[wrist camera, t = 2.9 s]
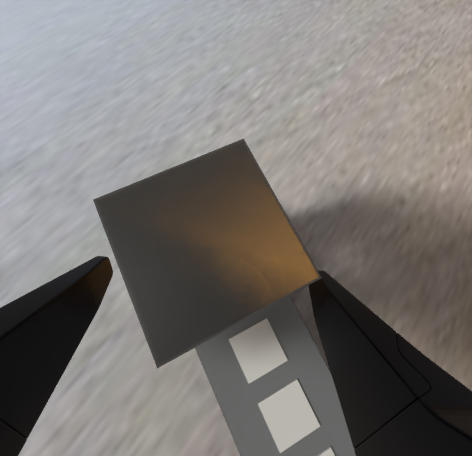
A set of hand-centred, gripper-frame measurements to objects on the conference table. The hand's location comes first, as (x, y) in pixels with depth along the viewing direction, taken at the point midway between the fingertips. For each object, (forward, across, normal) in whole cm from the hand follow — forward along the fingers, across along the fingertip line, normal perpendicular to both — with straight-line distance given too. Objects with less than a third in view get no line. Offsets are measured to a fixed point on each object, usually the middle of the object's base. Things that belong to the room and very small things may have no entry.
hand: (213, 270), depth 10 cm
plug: (+6, 0, +6) cm, 8 cm away
